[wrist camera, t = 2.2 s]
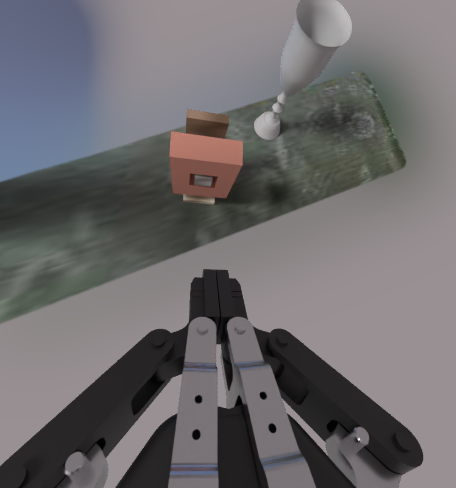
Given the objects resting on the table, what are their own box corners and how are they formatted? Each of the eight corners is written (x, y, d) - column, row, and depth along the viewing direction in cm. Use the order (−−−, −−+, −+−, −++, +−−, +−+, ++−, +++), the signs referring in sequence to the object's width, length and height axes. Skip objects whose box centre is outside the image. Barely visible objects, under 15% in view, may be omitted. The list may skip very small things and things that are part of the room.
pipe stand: (183, 202, 37) (183, 163, 26) (185, 162, 39) (187, 109, 27) (213, 204, 38) (227, 169, 27) (215, 165, 40) (228, 115, 28)
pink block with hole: (172, 193, 34) (169, 156, 25) (174, 174, 35) (171, 131, 25) (226, 198, 36) (242, 165, 26) (226, 180, 36) (242, 141, 27)
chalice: (257, 104, 44) (307, -17, 26) (289, 120, 44) (358, 13, 27) (243, 134, 42) (287, 26, 25) (277, 151, 43) (342, 57, 25)
